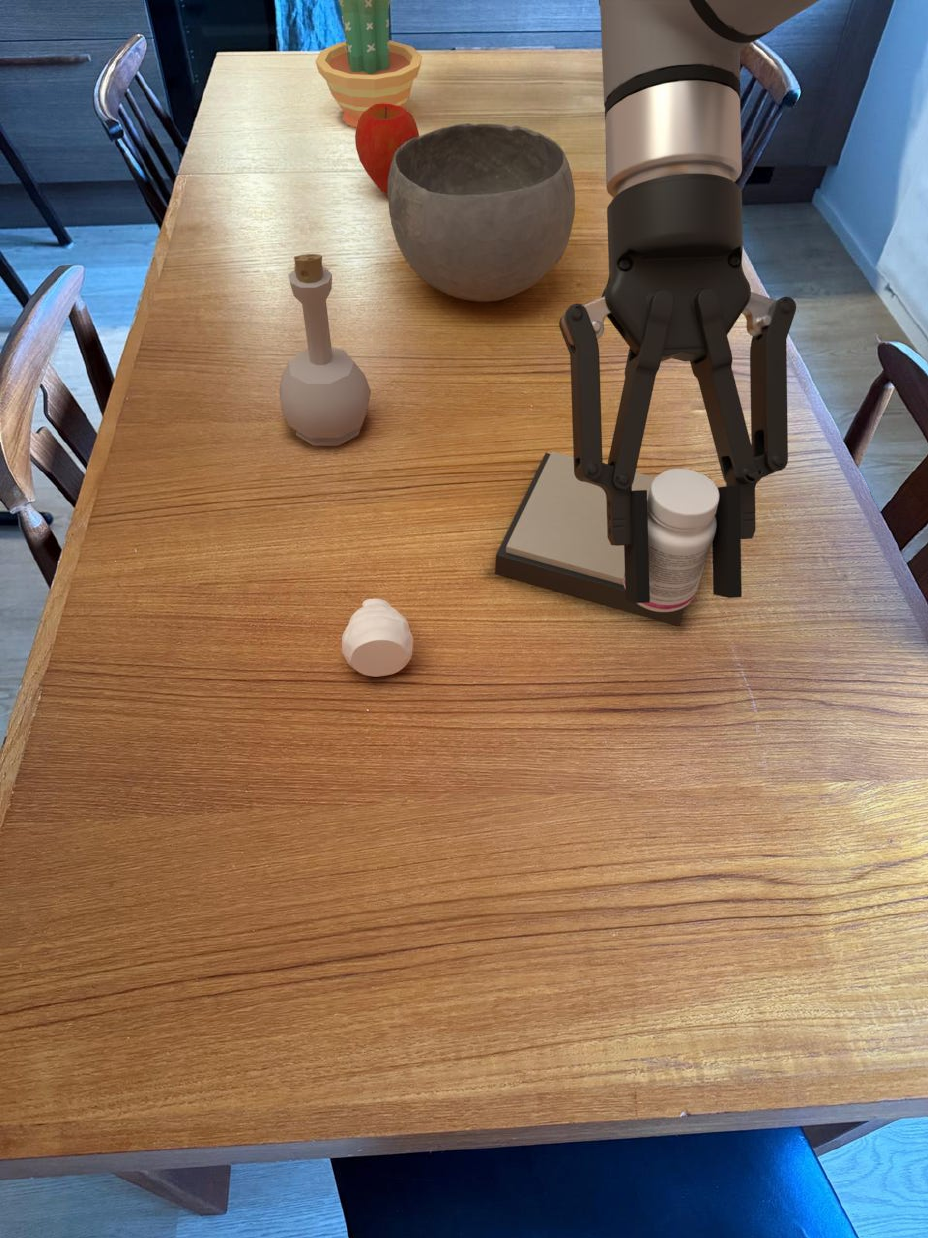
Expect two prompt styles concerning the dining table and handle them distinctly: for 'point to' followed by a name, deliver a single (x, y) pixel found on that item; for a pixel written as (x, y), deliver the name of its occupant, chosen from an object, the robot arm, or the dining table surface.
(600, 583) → the scale
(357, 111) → the potted cactus
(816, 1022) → the dining table surface
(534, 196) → the bowl
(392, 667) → the garlic bulb
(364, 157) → the apple
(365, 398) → the potion bottle
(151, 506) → the dining table surface
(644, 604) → the pill bottle
